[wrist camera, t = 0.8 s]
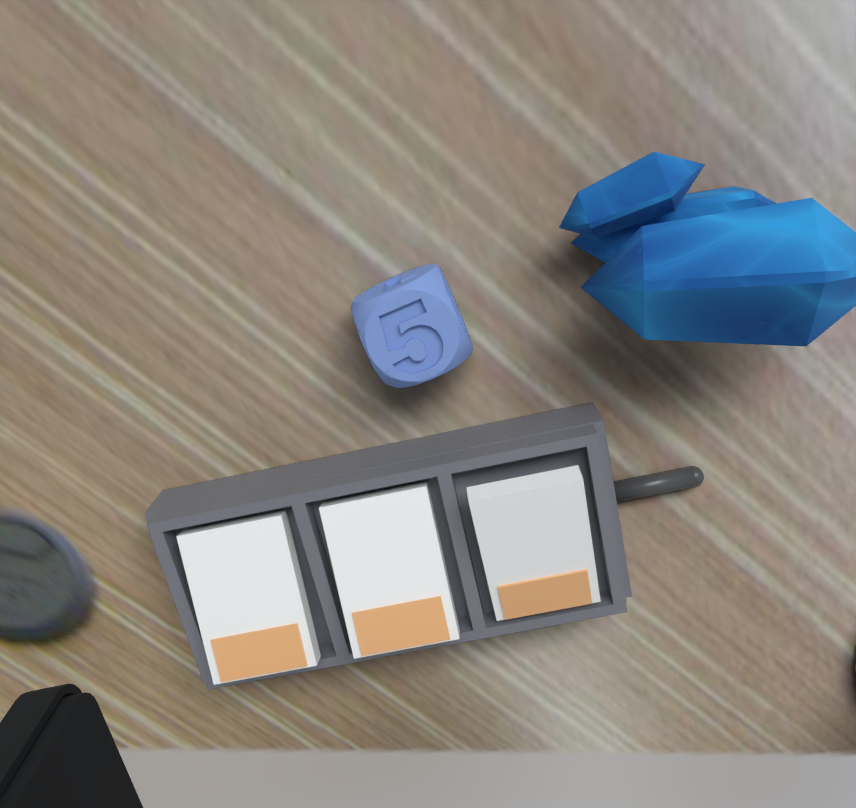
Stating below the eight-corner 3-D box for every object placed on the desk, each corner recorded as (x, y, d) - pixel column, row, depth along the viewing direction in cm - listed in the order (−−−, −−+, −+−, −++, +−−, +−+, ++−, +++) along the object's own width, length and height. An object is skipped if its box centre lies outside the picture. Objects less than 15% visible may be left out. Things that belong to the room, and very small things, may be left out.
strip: (688, 382, 37) (716, 408, 33) (709, 552, 40) (737, 592, 36) (162, 490, 39) (135, 525, 35) (217, 645, 41) (197, 692, 38)
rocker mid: (427, 480, 36) (426, 486, 34) (459, 628, 36) (459, 640, 35) (323, 501, 36) (318, 508, 35) (357, 647, 37) (353, 659, 35)
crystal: (546, 166, 27) (941, 128, 24) (564, 156, 35) (863, 126, 32) (557, 374, 30) (919, 362, 27) (571, 320, 38) (852, 306, 35)
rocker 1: (287, 508, 36) (280, 516, 35) (321, 654, 37) (316, 666, 35) (185, 528, 36) (175, 536, 35) (221, 672, 37) (212, 686, 36)
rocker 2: (577, 462, 34) (583, 480, 33) (594, 583, 37) (601, 603, 36) (466, 484, 34) (468, 503, 33) (493, 602, 38) (496, 622, 36)
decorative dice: (437, 257, 35) (438, 271, 31) (471, 338, 36) (476, 361, 32) (354, 293, 36) (346, 311, 32) (391, 372, 37) (387, 398, 33)
